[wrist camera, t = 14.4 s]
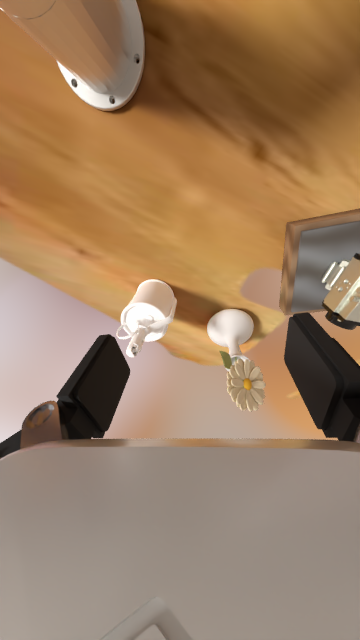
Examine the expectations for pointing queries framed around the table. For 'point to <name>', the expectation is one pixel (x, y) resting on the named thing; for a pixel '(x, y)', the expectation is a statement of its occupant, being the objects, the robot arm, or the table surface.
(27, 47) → the table surface
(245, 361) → the flower in vase
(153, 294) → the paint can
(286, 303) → the stand
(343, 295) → the pneumatic valve
